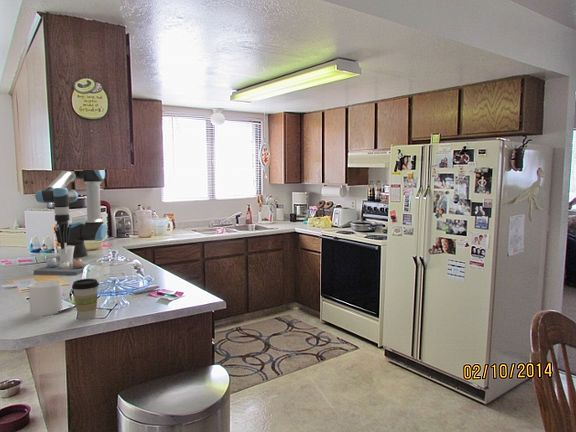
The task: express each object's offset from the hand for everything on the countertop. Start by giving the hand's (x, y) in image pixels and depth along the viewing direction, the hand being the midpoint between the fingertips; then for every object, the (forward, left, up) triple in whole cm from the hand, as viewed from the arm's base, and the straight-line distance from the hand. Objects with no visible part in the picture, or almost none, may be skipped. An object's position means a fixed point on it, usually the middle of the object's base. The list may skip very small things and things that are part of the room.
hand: (64, 253), depth 245 cm
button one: (0, -8, -8) cm, 11 cm away
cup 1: (+68, +37, -11) cm, 78 cm away
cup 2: (-17, -10, -10) cm, 22 cm away
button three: (0, +8, -8) cm, 11 cm away
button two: (0, 0, -10) cm, 10 cm away
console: (0, 0, -10) cm, 10 cm away
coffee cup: (+73, +58, -10) cm, 94 cm away
